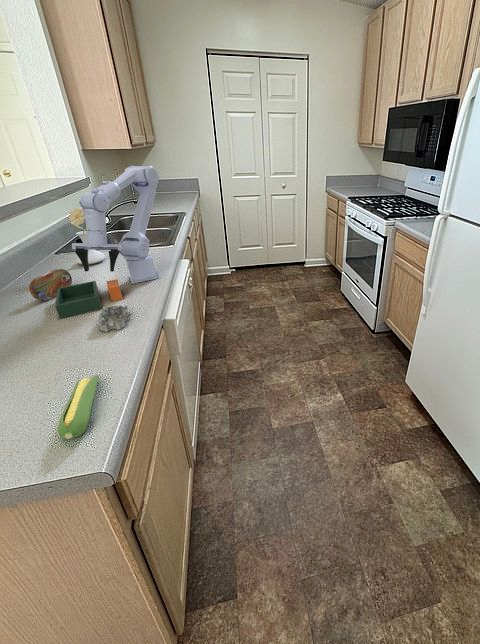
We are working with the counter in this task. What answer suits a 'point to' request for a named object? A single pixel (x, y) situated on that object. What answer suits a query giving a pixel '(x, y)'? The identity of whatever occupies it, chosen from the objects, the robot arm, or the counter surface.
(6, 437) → the counter surface
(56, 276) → the tin
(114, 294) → the orange block
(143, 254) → the robot arm
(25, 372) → the counter surface
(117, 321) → the grey stone
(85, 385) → the edible corn
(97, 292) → the bin
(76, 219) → the flower in vase
